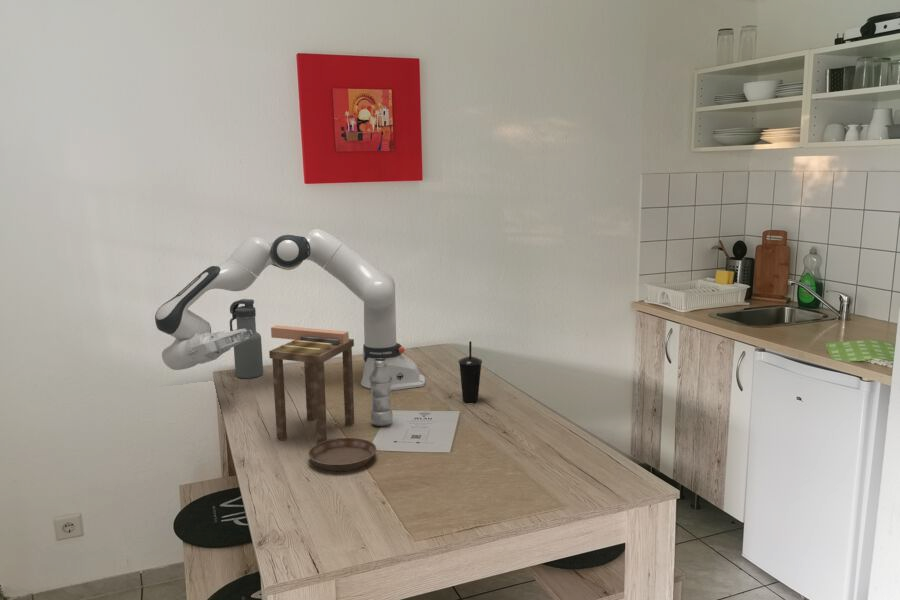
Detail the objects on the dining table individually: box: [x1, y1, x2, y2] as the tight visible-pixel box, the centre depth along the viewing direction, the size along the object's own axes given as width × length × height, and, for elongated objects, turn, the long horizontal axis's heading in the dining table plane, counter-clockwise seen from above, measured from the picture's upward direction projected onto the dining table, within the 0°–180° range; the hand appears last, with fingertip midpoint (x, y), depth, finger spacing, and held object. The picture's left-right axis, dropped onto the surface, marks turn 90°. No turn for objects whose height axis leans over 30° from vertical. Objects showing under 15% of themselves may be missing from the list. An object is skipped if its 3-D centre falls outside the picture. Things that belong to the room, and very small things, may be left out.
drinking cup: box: [458, 341, 483, 404], centre depth 227 cm, size 8×8×20 cm
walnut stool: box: [268, 334, 355, 445], centre depth 202 cm, size 16×19×28 cm
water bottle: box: [229, 298, 264, 380], centre depth 255 cm, size 10×10×28 cm
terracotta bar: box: [270, 325, 350, 344], centre depth 205 cm, size 24×3×3 cm, turn 70°
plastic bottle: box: [369, 358, 394, 427], centre depth 208 cm, size 6×7×20 cm
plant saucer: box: [307, 437, 377, 472], centre depth 185 cm, size 18×18×3 cm
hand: (241, 336), depth 214 cm, fingers open, 8 cm apart
